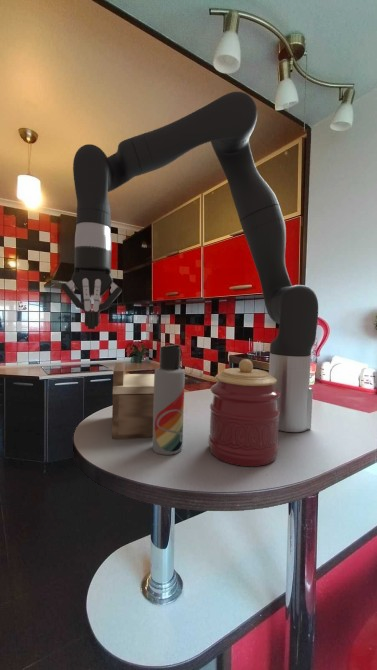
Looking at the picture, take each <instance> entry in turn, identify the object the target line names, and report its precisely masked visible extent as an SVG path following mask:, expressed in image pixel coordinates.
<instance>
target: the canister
mask: <svg viewBox="0 0 377 670" xmlns="http://www.w3.org/2000/svg"><path fill="white" fill-rule="evenodd" d="M253 363H254V362H252V361H251V360H250V359H249V358H244V359H241V360H240V361H239V364H238V367H231V368H225V369H223V370H222V371H220V373H219V372H218V373H217V374H216V375H215V377H214V378H215V380H217V381H216V383H214V384H213V385H211V387H210V391H211V393H212V402H211V403H210V404H209V409H210V421H209V422H210V423H209V435H208V445H209V451H210V452H211V454H212V455H213V456H214V457H215V458H217V459H219V460H221V461H223V462H225V463H228V464H231V465H235V466H242V467H259V466H265V465H266V466H267V465H268V464H271V463H272V462H274V461H275V460H276V458H277V455H278V452H279V445H280V443H279V441H278V440H279V439H278V438H279V430H278V425H279V414H280V410H279V408H278V403H277V400H278V398H279V397H280V396H281V392H280V391H279V390H278V389H276V388H275V386H274V384H275V383H276V382H277V380H276V379H275V378H274V377H272V376H271V375H270V374H269V371H266V370H261V369H257V368H254V364H253Z"/></svg>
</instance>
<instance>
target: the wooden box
mask: <svg viewBox="0 0 377 670" xmlns="http://www.w3.org/2000/svg"><path fill="white" fill-rule="evenodd" d="M153 408H154V394H113V393H112V415H111V417H112V418H111V419H112V420H111V421H112V423H111V439H112V440H119V439H120V440H123V439H142V438H144V439H145V438H153Z"/></svg>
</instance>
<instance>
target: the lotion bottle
mask: <svg viewBox="0 0 377 670" xmlns="http://www.w3.org/2000/svg"><path fill="white" fill-rule="evenodd" d="M153 374H154V408H153V437H152V449H153V451H154V452H155V453H157V454H159V455H168V456H169V455H175V454H178V453H180V452H181V451H182V450H183V442H184V441H183V440H184V439H183V437H184V407H185V406H184V405H185V380H186V379H185V378H186V377H185V376H186V375H185V374H186V373H185V370H184V369H182V368H181V347H180V345H179V344H169V345H168V344H167V345H164V346H160V347H159V367H158V368H156V369H154V373H153Z"/></svg>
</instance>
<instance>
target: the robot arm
mask: <svg viewBox="0 0 377 670" xmlns="http://www.w3.org/2000/svg"><path fill="white" fill-rule="evenodd" d="M257 119H258V108H257V104H256V102H255V99H253V98H252V97H251V96H250V95H249V94H247V93H246V92H243V91H232V92H229V93H226V94H224V95H222V96H220V97H218V98H217V99H215V100H213V101H212V102H209V103H207V104H206V105H204V106H203V107H201V108H198V109H197V110H195V111H192V112H191V113H189V114H187V115H184V116H183V117H181V118H179V119H177V120H175V121H173V122H171V123H168V124H165V125H164V126H161V127H158V128H155V129H153V130H150V131H148V132H144V133H141V134H138V135H135V136H132V137H130V138H126V139H124V140H122V141H120V142H119V143H118V145H117V151H116V152H115V153H113V154H111V155H110V156H107V154H106V153H105V152H104V151H103V150H102V148H101V147H99V146H97V145H95V144H90V143H88V144H84V145H81V146H80V147H79V148H78V149H77V151H76V153H75V155H74V157H73V163H72V175H73V181H74V182H73V183H74V190H75V196H76V205H77V206H76V226H75V227H76V229H75V235H74V270H73V271H74V272H73V274H72V276H71V280H69V281H68V282H66V283H62V284H61V286H60V287H61V289H62V290H63V292H64V293H65V295H66V296H68V298H69V299H70V301H71V302H72V303H73V304H74V306H75V307H76V308H77V309H80V310H82V311H84V326H85V327H87V329H88V330H96V328H98V327H99V324H100V312H101V311H105V310H108V308H109V307H110V306H111V305H112V304H113V302H114V301H115V300H116V299H117V298H118V297H119V296H120V294H121V293H122V291H123V290H122V288H121V287H120V286H118V285H117V284H116V283H115V282H114V279H113V277H112V250H113V245H112V233H111V232H112V231H111V228H112V224H111V223H112V217H111V216H112V211H111V205H110V200H109V196H108V195H109V194H108V193H109V192H112V191H114V190H115V189H118V188H119V187H121V186H123V185H124V184H126V183H129V182H130V180H132V179H133V178H136V177H139V176H141V175H144V174H148V173H151V172H154V171H156V170H159V169H161V168H164V167H165V166H168V165H169V164H171V163H173V162H174V161H176V160H177V159H179V158H180V157H182V156H184V155H185V154H187V153H188V152H190V151H191V150H193V149H195V148H197V147H200V146H202V145H203V144H207V143H209V142H210V144H211V146H212V149H213V151H214V153H215V155H216V157H217V161H218V162H219V164H220V166H221V168H222V170H223V174H224V175H225V178H226V180H227V183H228V186H229V190H230V193H231V197H232V201H233V203H234V206H235V209H236V213H237V216H238V221H239V223H240V225H241V229H242V231H243V235H244V238H245V239H246V242H247V245H248V249H249V252H250V254H251V257H252V260H253V263H254V266H255V269H256V271H257V274H258V278H259V282H260V287H261V292H262V295H263V300H264V305H265V308H266V312H267V314H268V316H269V318H270V319H271V320H272V321H273V322H274V323H276V324H278V333H277V336H276V337H275V338H274V339H273V340H271V342H270V346H269V361H268V362H269V367H268V373H269V374H270V375H271V376H272V377H274V378H275V379H276V380H277V382H276V383H275V384H274V386H275V388H276V389H278V390H279V391H280V392H281V396H280V397H279V398H278V400H277V403H278V408H279V410H280V414H279V425H278V431H282V432H289V433H301V432H305V431H306V430H311V429H312V414H313V397H314V395H313V394H314V389H313V388H312V387H310V381H311V380H310V379H311V377H310V376H311V358H312V357H311V356H312V349H313V347H314V344H315V342H316V338H317V329H318V322H319V320H318V318H319V301H318V298H317V294H316V293H315V291H314V289H312V288H311V287H310V286H307V285H303V284H295V285H293V284H292V282H291V279H290V277H289V273H288V270H287V267H286V247H287V246H286V243H287V231H286V230H287V227H286V222H285V219H284V216H283V213H282V210H281V207H280V203H279V200H278V198H277V196H276V194H275V192H274V191H273V189H272V188H271V187H270V186H269V184H268V183H267V181H266V180H264V178H263V177H262V176H261V174H260V172H259V170H258V169H257V166H256V164H255V160H254V158H253V153H252V151H251V150H252V149H251V145H250V137H251V135H252V133H253V132H254V129H255V126H256V124H257ZM75 287H76V288H77V290H78V291H79V292H80V294H82V295H83V303H82V301H81V300H80V298H79V297H78V296H77V295H76V293H75V290H76V289H75ZM110 287H111V288H110ZM109 288H110V290H109ZM108 290H109V291H110V292H109V293H110V294H109V296H108V297H107V299H105V300H104V302H103V303H101V302H102V301H101V300H102V297H103V296H104V295H105V293H106V292H107V291H108ZM92 296H93V304H92Z"/></svg>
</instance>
